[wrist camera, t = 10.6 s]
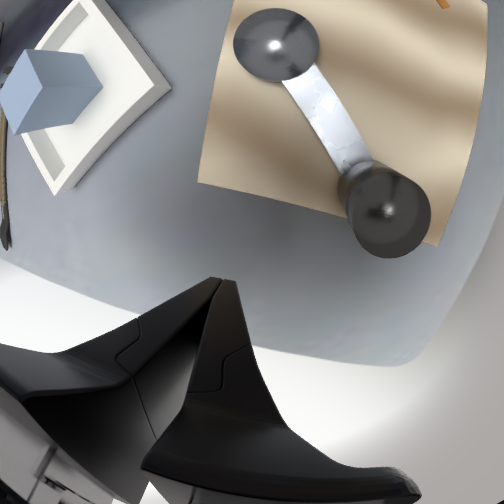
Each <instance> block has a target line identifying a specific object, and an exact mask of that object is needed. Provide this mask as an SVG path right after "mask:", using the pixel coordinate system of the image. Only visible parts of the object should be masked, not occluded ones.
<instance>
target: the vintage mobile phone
mask: <svg viewBox="0 0 504 504" xmlns="http://www.w3.org/2000/svg"><path fill="white" fill-rule="evenodd" d="M2 27H3V23H2V22H0V38H1V32H2Z"/></svg>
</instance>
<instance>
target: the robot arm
mask: <svg viewBox="0 0 504 504" xmlns="http://www.w3.org/2000/svg"><path fill="white" fill-rule="evenodd" d="M149 481H150V482H151V483H152V484H153V486H154V487H155V488H156V489H157V490H158V492H159V493H160V494H161V495H162V496H163V497H164V498H165V499H166V501H168V503H169V504H413V503H415V502H417V501H418V500H419V499H420V498H421V496H422V495H421V492H420V490H419V488H418V486H417V485H416V484H415V482H414V481H413V480H412V479H411V478H410V477H408V476H407V475H406V474H405V473H404V472H402V471H401V470H400V469H397V468H394V467H374V468H373V467H372V468H356V467H350V466H346V465H343V464H340V463H338V462H336V461H334V460H332V459H330V458H329V457H328V456H326V455H325V454H323V453H322V452H320V451H319V450H318V449H316V448H315V447H313V446H312V445H311V444H309V443H308V442H307V441H305V440H304V439H303V438H301V437H300V436H299V435H297V434H296V433H295V432H293V431H292V430H291V429H290V428H289V427H288V426H287V424H286V423H285V421H284V420H283V418H282V417H281V415H280V413H279V411H278V409H277V407H276V405H275V403H274V401H273V399H272V396H271V394H270V392H269V390H268V388H267V386H266V384H265V382H264V380H263V377H262V375H261V373H260V370H259V368H258V365H257V362H256V359H255V355H254V352H253V348H252V345H251V341H250V337H249V333H248V329H247V325H246V321H245V317H244V313H243V309H242V305H241V301H240V297H239V293H238V288H237V284H236V282H235V281H232V280H226V279H224V280H222V279H221V278H215V277H209V278H207V279H206V280H204V281H202V282H200V283H198V284H197V285H195V286H193V287H191V288H189V289H188V290H186V291H184V292H182V293H180V294H179V295H177V296H175V297H173V298H171V299H170V300H168V301H166V302H164V303H162V304H160V305H159V306H157V307H155V308H153V309H151V310H150V311H148V312H146V313H144V314H142V315H141V316H139V317H138V319H137V318H135V319H133V320H131V321H130V322H128V323H126V324H124V325H122V326H120V327H118V328H116V329H115V330H112V331H110V332H108V333H105V334H103V335H101V336H99V337H96V338H94V339H92V340H89V341H87V342H84V343H82V344H80V345H77V346H75V347H73V348H70V349H68V350H65V351H62V352H58V353H42V352H37V351H32V350H27V349H22V348H17V347H13V346H9V345H5V344H1V343H0V504H111V503H112V501H113V499H114V498H115V499H117V500H119V501H121V502H124V503H126V504H139V503H140V501H141V498H142V496H143V494H144V492H145V489H146V487H147V485H148V483H149ZM498 504H504V500H503V501H501V502H499V503H498Z"/></svg>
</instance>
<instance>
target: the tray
mask: <svg viewBox="0 0 504 504" xmlns="http://www.w3.org/2000/svg"><path fill="white" fill-rule="evenodd" d="M34 50H48V51H59V52H68V53H76V54H83V55H84V57H85V59H86V60H87V62H88V63H89V65H90V67H91V68H92V70H93V71H94V73H95V75H96V76H97V78H98V79H99V81H100V83H101V84H102V86H103V89H102V90H101V91H100V92H99V93H98V94H97V95H96V96H95V97H94V98H93V100H92V101H91V102H90V103H89V104H88V105H87V107H86V108H85V109H84V110H83V111H82V113H81V114H80V115H79V116H78V117H77V119H76V120H75V121H74V122H73V124H68V125H62V126H56V127H50V128H45V129H40V130H36V131H31V132H27V133H22V134H21V135H22V137H23V139H24V141H25V143H26V145H27V147H28V149H29V151H30V153H31V155H32V157H33V159H34V161H35V162H36V164H37V166H38V168H39V170H40V172H41V173H42V175H43V177H44V179H45V180H46V182H47V184H48V186H49V187H50V189H51V191H52V192H53V194H54V196H56V195H58V194H60V193H62V192H64V191H67V190H69V189H71V188H73V187H75V186H76V185H77V183H78V182H79V181H80V180H81V178H82V177H83V176H84V175H85V174H86V172H87V171H88V170H89V169H90V168H91V167H92V165H93V164H94V163H95V162H96V161H97V160H98V159H99V158H100V156H101V155H102V154H103V153H104V152H105V151H106V150H107V149H108V148H109V147H110V146H111V145H112V144H113V142H114V141H115V140H116V139H117V138H118V137H119V136H120V135H121V134H122V133H123V132H124V131H125V130H126V129H127V128H128V127H129V126H130V125H131V124H132V123H133V122H135V121H136V120H137V119H138V118H139V117H140V116H141V115H142V114H143V113H144V112H145V111H146V110H147V109H149V108H150V107H151V106H152V105H153V104H154V103H155V102H156V101H158V100H159V99H160V98H161V97H162V96H163V95H165V94H166V93H167V92H168V91H169V90H171V89H172V87H171V86H170V85H169V83H168V82H167V80H166V79H165V78H164V76H163V75H162V74H161V72H160V71H159V70H158V68H157V67H156V66H155V64H154V63H153V62H152V60H151V59H150V58H149V56H148V55H147V54H146V52H145V51H144V50H143V48H142V47H141V46H140V44H139V43H138V42H137V40H136V39H135V38H134V37H133V35H132V34H131V33H130V31H129V30H128V29H127V27H126V26H125V25H124V24H123V22H122V21H121V20H120V19H119V17H118V16H117V15H116V13H115V12H114V11H113V10H112V8H111V7H110V6H109V5H108V3H107V2H106V1H105V0H73V1H72V2H71V3H70V5H69V6H68V7H67V8H66V9H65V10H64V11H63V13H62V14H61V15H60V16H59V17H58V19H57V20H56V21H55V22H54V23H53V25H52V26H51V27H50V29H49V30H48V31H47V32H46V34H45V35H44V36H43V38H42V39H41V41H40V42H39V43H38V45H37V46H36V48H35V49H34Z"/></svg>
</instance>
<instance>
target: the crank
mask: <svg viewBox="0 0 504 504" xmlns="http://www.w3.org/2000/svg"><path fill="white" fill-rule="evenodd" d="M233 49H234V53H235V56H236V58H237V60H238V62H239V63H240V64H241V65H242V67H243V68H244V69H245V70H247V71H248V72H249V73H250V74H251V75H253V76H254V77H256V78H258V79H260V80H263V81H267V82H272V83H283V85H284V86H285V88H286V89H287V90H288V92H289V93H290V95H291V96H292V98H293V99H294V100H295V102H296V103H297V105H298V106H299V108H300V109H301V111H302V112H303V114H304V115H305V117H306V118H307V120H308V121H309V123H310V125H311V126H312V128H313V129H314V131H315V133H316V134H317V136H318V137H319V139H320V141H321V142H322V144H323V146H324V147H325V149H326V151H327V152H328V154H329V156H330V157H331V159H332V161H333V162H334V164H335V166H336V168H337V169H338V171H339V173H340V178H339V180H338V185H337V194H338V198H339V201H340V203H341V205H342V207H343V209H344V212H345V214H346V216H347V218H348V220H349V222H350V224H351V226H352V229H353V231H354V233H355V235H356V238H357V240H358V241H359V243H360V244H361V245H362V247H363V248H364V249H365V250H366V251H368V252H369V253H371V254H373V255H375V256H378V257H381V258H397V257H400V256H403V255H406V254H408V253H409V252H411V251H413V250H414V249H415V248H416V247H417V246H418V245H419V244H420V243H421V242H422V241H423V239H424V238H425V236H426V234H427V232H428V229H429V226H430V222H431V207H430V202H429V199H428V197H427V195H426V193H425V192H424V190H423V189H422V188H421V187H420V186H419V185H418V184H417V183H415V182H414V181H412V180H411V179H409V178H407V177H406V176H404V175H402V174H401V173H399V172H397V171H395V170H394V169H392V168H390V167H388V166H387V165H385V164H383V163H381V162H379V161H377V160H374V159H373V158H372V156H371V154H370V152H369V150H368V148H367V146H366V144H365V143H364V141H363V139H362V137H361V135H360V134H359V132H358V130H357V128H356V127H355V125H354V123H353V121H352V120H351V118H350V116H349V115H348V113H347V111H346V110H345V108H344V107H343V105H342V103H341V102H340V100H339V99H338V97H337V95H336V94H335V92H334V91H333V89H332V88H331V86H330V85H329V83H328V82H327V80H326V79H325V78H324V76H323V75H322V73H321V72H320V70H319V69H318V68H317V66H316V65H315V61H316V59H317V56H318V52H319V37H318V34H317V32H316V30H315V28H314V27H313V25H312V24H311V23H310V22H309V21H308V20H307V19H306V18H305V17H303V16H302V15H300V14H298V13H296V12H294V11H291V10H288V9H283V8H269V9H264V10H260V11H257V12H255V13H253V14H251V15H250V16H248V17H247V18H246V19H244V20H243V21H242V22H241V23H240V25H239V26H238V28H237V30H236V32H235V34H234V38H233Z"/></svg>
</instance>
